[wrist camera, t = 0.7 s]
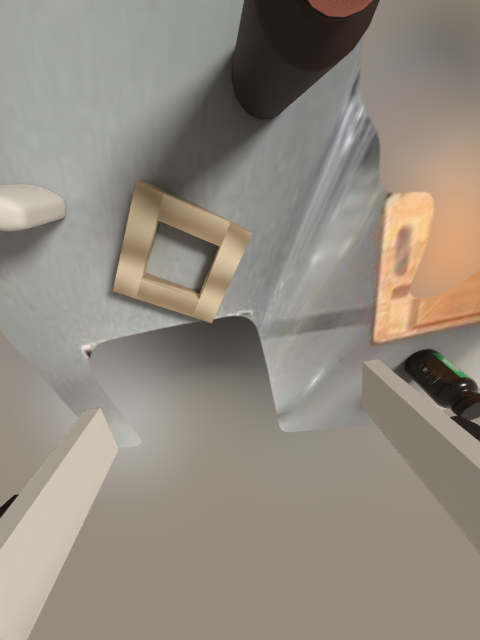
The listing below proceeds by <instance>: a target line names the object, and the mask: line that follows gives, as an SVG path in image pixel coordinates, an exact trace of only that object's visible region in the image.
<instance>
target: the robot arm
mask: <svg viewBox="0 0 480 640" xmlns="http://www.w3.org/2000/svg"><path fill="white" fill-rule="evenodd" d="M362 408H363V409H364V410H365V412H366V413H367V414H368V415H369V416H370V418H371V419H372V420H373V421H374V423H375V424H376V425H377V426H378V428H379V429H380V430H381V431H382V432H383V434H384V435H385V436H386V437H387V439H388V440H389V441H390V442H391V444H392V445H393V446H394V447H395V449H396V450H397V451H398V452H399V454H400V455H401V456H402V457H403V459H404V460H405V461H406V462H407V464H408V465H409V466H410V467H411V469H412V470H413V471H414V472H415V474H416V475H417V476H418V477H419V479H420V480H421V481H422V482H423V483H424V485H425V486H426V487H427V489H428V490H429V491H430V492H431V493H432V495H433V496H434V497H435V498H436V500H437V501H438V502H439V503H440V504H441V506H442V507H443V508H444V510H445V511H446V512H447V513H448V514H449V516H450V517H451V518H452V520H453V521H454V522H455V523H456V524H457V526H458V527H459V528H460V529H461V531H462V532H463V533H464V534H465V536H466V537H467V538H468V539H469V541H470V542H471V543H472V544H473V545H474V547H475V548H476V549H477V551H478V552H479V553H480V426H479V425H477V424H475V423H473V422H471V421H469V420H467V419H465V418H463V417H461V416H454V417H448V416H447V415H446V414H445V413H443V412H442V411H441V410H440V409H438V408H437V407H436V406H435V405H434V404H432V403H431V402H430V401H429V400H427V399H426V398H425V397H424V396H422V395H421V394H420V393H419V392H417V391H416V390H415V389H414V388H412V387H411V386H410V385H409V384H408V383H406V382H405V381H404V380H403V379H401V378H400V377H399V376H398V375H396V374H395V373H394V372H393V371H391V370H390V369H389V368H388V367H387V366H385V365H384V364H383V363H382V362H380V361H379V360H372V361H366V362H363V372H362ZM117 452H118V447H117V445H116V443H115V440H114V438H113V436H112V433H111V431H110V429H109V427H108V424H107V422H106V420H105V418H104V415H103V413H102V411H101V408H95V409H89V410H84V412H83V413H82V414H81V416H80V417H79V418H78V419H77V421H76V422H75V423H74V425H73V426H72V427H71V428H70V430H69V431H68V432H67V434H66V435H65V436H64V438H63V439H62V440H61V441H60V443H59V444H58V445H57V446H56V448H55V449H54V450H53V451H52V453H51V454H50V455H49V457H48V458H47V459H46V461H45V462H44V463H43V465H42V466H41V467H40V468H39V469H38V471H37V472H36V473H35V475H34V476H33V477H32V479H31V480H30V481H29V482H28V484H27V485H26V486H25V487H24V489H23V490H22V491H21V493H20V494H18V495H14V496H13V497H12V498H11V499H9V500H8V501H7V502H6V503H5V504H4V505H3V506H2V507H0V640H27V639H28V637H29V635H30V632H31V630H32V628H33V626H34V624H35V622H36V620H37V618H38V616H39V614H40V611H41V609H42V607H43V605H44V603H45V601H46V599H47V597H48V595H49V593H50V591H51V589H52V587H53V585H54V583H55V580H56V578H57V576H58V574H59V572H60V570H61V568H62V566H63V564H64V562H65V560H66V558H67V555H68V553H69V551H70V549H71V547H72V545H73V543H74V541H75V539H76V537H77V534H78V533H79V531H80V529H81V526H82V524H83V522H84V520H85V518H86V516H87V514H88V512H89V510H90V508H91V506H92V503H93V501H94V499H95V497H96V495H97V493H98V491H99V489H100V487H101V485H102V483H103V481H104V479H105V477H106V474H107V472H108V470H109V468H110V466H111V464H112V462H113V460H114V458H115V456H116V454H117Z"/></svg>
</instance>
